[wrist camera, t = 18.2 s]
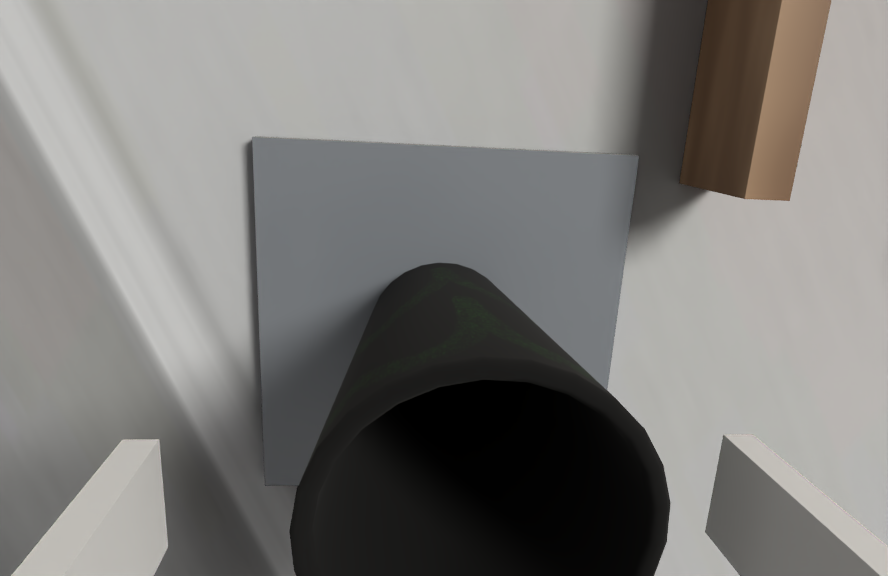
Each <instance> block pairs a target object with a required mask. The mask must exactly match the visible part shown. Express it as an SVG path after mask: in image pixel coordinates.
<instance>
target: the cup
mask: <svg viewBox="0 0 888 576" xmlns="http://www.w3.org/2000/svg"><path fill="white" fill-rule="evenodd" d="M669 512H670V499H669V493H668V488H667V483H666V477H665V472H664V466H663V464H662V462H661V460H660V458H659V456H658V454H657V452H656V450H655V448H654V446H653V444H652V442H651V440H650V438H649V436H648V434H647V432H646V430H645V429H644V428H643V427H642V426H641V425H640V424H639V423H638V422H637V421H636V419H635V418H634V417H633V416H632V415H631V414H630V413H629V412H628V411H627V410H626V409H625V408H624V407H623V406H622V405H621V404H620V402H619V401H618V400H617V399H616V398H615V397H614V396H612V395H611V394H610V393H609V392H608V391H607V390H606V389H605V388H604V387H603V386H602V385H601V384H600V383H599V382H598V381H596V380H595V379H594V378H593V377H592V376H591V375H590V374H589V373H588V372H587V371H586V370H585V369H584V368H583V367H582V366H580V365H579V364H578V363H577V362H576V361H575V360H574V359H573V358H572V357H571V356H570V355H569V354H568V353H567V352H565V351H564V350H563V349H562V348H561V347H560V346H559V345H558V344H557V343H556V342H555V341H554V340H553V339H552V338H551V337H549V336H548V335H547V334H546V333H545V332H544V331H543V330H542V329H541V328H540V327H539V326H538V325H537V324H536V323H535V322H533V321H532V320H531V319H530V318H529V317H528V316H527V315H526V314H525V313H524V312H523V311H522V310H521V309H520V308H519V307H517V306H516V305H515V304H514V303H513V302H512V301H511V300H510V299H509V298H508V297H507V296H506V295H505V294H504V293H503V292H501V291H500V290H499V289H498V288H497V287H496V286H495V285H494V284H493V283H492V282H491V281H490V280H489V279H488V278H486V277H485V276H483V275H481V274H480V273H478V272H477V271H475V270H473V269H471V268H468V267H465V266H462V265H459V264H452V263H433V264H427V265H421V266H419V267H416V268H414V269H411V270H409V271H407V272H405V273H403V274H402V275H401V276H399V277H398V278H396V279H395V280H394V281H392V282H391V283H390V284H389V286H388V287H387V288H386V289H385V290H384V292H383V293H382V294H381V295H380V297H379V299H378V301H377V303H376V305H375V307H374V309H373V311H372V314H371V316H370V319H369V321H368V323H367V326H366V328H365V330H364V333H363V335H362V337H361V340H360V342H359V344H358V347H357V349H356V352H355V354H354V356H353V359H352V361H351V363H350V366H349V368H348V370H347V373H346V375H345V377H344V380H343V382H342V385H341V387H340V389H339V392H338V394H337V396H336V399H335V401H334V403H333V406H332V408H331V410H330V413H329V415H328V418H327V420H326V422H325V425H324V427H323V429H322V432H321V434H320V436H319V439H318V441H317V443H316V446H315V448H314V451H313V453H312V455H311V458H310V460H309V462H308V465H307V467H306V469H305V472H304V474H303V476H302V479H301V481H300V484H299V486H298V488H297V492H296V497H295V503H294V509H293V514H292V520H291V525H290V539H291V547H292V556H293V565H294V571H295V573H296V576H654V574H655V571H656V569H657V566H658V563H659V561H660V558H661V555H662V553H663V550H664V547H665V545H666V542H667V533H668V522H669Z"/></svg>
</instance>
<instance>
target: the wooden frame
mask: <svg viewBox="0 0 888 576" xmlns="http://www.w3.org/2000/svg"><path fill="white" fill-rule="evenodd" d="M830 4H831V0H708V4H707V10H706V17H705V23H704V29H703V36H702V42H701V48H700V55H699V61H698V68H697V74H696V80H695V87H694V93H693V99H692V106H691V112H690V118H689V125H688V131H687V138H686V144H685V150H684V157H683V163H682V169H681V176H680V182H679V183H680V184H684V185H688V186H692V187H697V188H701V189H705V190H709V191H714V192H718V193H722V194H726V195H731V196H735V197H739V198H743V199H760V200H784V201H790V196H791V191H792V186H793V182H794V177H795V172H796V167H797V162H798V158H799V153H800V148H801V143H802V138H803V134H804V129H805V124H806V119H807V115H808V110H809V105H810V100H811V95H812V91H813V86H814V81H815V76H816V71H817V67H818V62H819V57H820V52H821V47H822V43H823V38H824V33H825V28H826V24H827V19H828V14H829V9H830Z"/></svg>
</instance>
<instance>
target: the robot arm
mask: <svg viewBox="0 0 888 576" xmlns="http://www.w3.org/2000/svg"><path fill="white" fill-rule="evenodd" d="M705 532H706V534H707V535H708V536H709V537H710V539H711V540H712V541H713V542H714V544H715V545H716V546H717V547H718V549H719V550H720V551H721V552H722V553H723V555H724V556H725V557H726V558H727V560H728V561H729V562H730V563H731V565H732V566H733V567H734V568H735V570H736V571H737V572H738V573H739V575H740V576H888V546H887V545H886V544H885V543H884V542H882V541H881V540H880V539H879V538H877V537H876V536H875V535H874V534H873V533H871V532H870V531H869V530H868V529H867V528H865V527H864V526H863V525H862V524H861V523H859V522H858V521H857V520H856V519H855V518H853V517H852V516H851V515H850V514H848V513H847V512H846V511H845V510H844V509H842V508H841V507H840V506H839V505H838V504H836V503H835V502H834V501H833V500H832V499H830V498H829V497H828V496H827V495H826V494H824V493H823V492H822V491H821V490H819V489H818V488H817V487H816V486H815V485H813V484H812V483H811V482H810V481H809V480H807V479H806V478H805V477H804V476H803V475H801V474H800V473H799V472H798V471H797V470H795V469H794V468H793V467H792V466H790V465H789V464H788V463H787V462H786V461H784V460H783V459H782V458H781V457H780V456H778V455H777V454H776V453H775V452H774V451H772V450H771V449H770V448H769V447H768V446H766V445H765V444H764V443H763V442H761V441H760V440H759V439H758V438H757V437H755V436H754V435H753V434H741V435H723V440H722V445H721V451H720V456H719V461H718V466H717V472H716V477H715V482H714V488H713V493H712V498H711V504H710V509H709V514H708V519H707V525H706V530H705ZM167 548H168V539H167V527H166V514H165V502H164V490H163V478H162V466H161V454H160V442H159V439H137V440H122V441H121V442H120V443H119V444H118V446H117V447H116V448H115V449H114V450H113V452H112V453H111V454H110V455H109V457H108V458H107V459H106V460H105V461H104V463H103V464H102V465H101V466H100V468H99V469H98V470H97V471H96V472H95V474H94V475H93V476H92V477H91V479H90V480H89V481H88V482H87V483H86V485H85V486H84V487H83V488H82V490H81V491H80V492H79V493H78V494H77V496H76V497H75V498H74V499H73V501H72V502H71V503H70V504H69V505H68V507H67V508H66V509H65V510H64V512H63V513H62V514H61V515H60V516H59V518H58V519H57V520H56V521H55V523H54V524H53V525H52V526H51V527H50V529H49V530H48V531H47V532H46V534H45V535H44V536H43V537H42V538H41V540H40V541H39V542H38V543H37V545H36V546H35V547H34V548H33V550H32V551H31V552H30V553H29V554H28V556H27V557H26V558H25V559H24V561H23V562H22V563H21V564H20V565H19V567H18V568H17V569H16V570H15V572H14V573H13V574H12V575H11V576H154V574H155V572H156V570H157V568H158V566H159V564H160V562H161V560H162V558H163V556H164V554H165V552H166V550H167Z"/></svg>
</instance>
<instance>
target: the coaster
mask: <svg viewBox="0 0 888 576" xmlns="http://www.w3.org/2000/svg"><path fill="white" fill-rule="evenodd" d="M252 148H253V175H254V203H255V230H256V258H257V285H258V312H259V340H260V367H261V395H262V422H263V449H264V477H265V486H299V484H300V481H301V479H302V476H303V474H304V472H305V469H306V467H307V465H308V462H309V460H310V458H311V455H312V453H313V451H314V448H315V446H316V443H317V441H318V439H319V436H320V434H321V432H322V429H323V427H324V425H325V422H326V420H327V418H328V415H329V413H330V410H331V408H332V406H333V403H334V401H335V399H336V396H337V394H338V392H339V389H340V387H341V385H342V382H343V380H344V377H345V375H346V373H347V370H348V368H349V366H350V363H351V361H352V359H353V356H354V354H355V352H356V349H357V347H358V344H359V342H360V340H361V337H362V335H363V333H364V330H365V328H366V326H367V323H368V321H369V319H370V316H371V314H372V311H373V309H374V307H375V305H376V303H377V301H378V299H379V297H380V295H381V294H382V293H383V292H384V290H385V289H386V288H387V287H388V286H389V284H390V283H391V282H392V281H394V280H395V279H396V278H398V277H399V276H401V275H402V274H403V273H405V272H407V271H409V270H411V269H414V268H416V267H419V266H421V265H427V264H433V263H452V264H459V265H462V266H465V267H468V268H471V269H473V270H475V271H477V272H478V273H480V274H481V275H483V276H485V277H486V278H488V279H489V280H490V281H491V282H492V283H493V284H494V285H495V286H496V287H497V288H498V289H499V290H500V291H501V292H503V293H504V294H505V295H506V296H507V297H508V298H509V299H510V300H511V301H512V302H513V303H514V304H515V305H516V306H517V307H519V308H520V309H521V310H522V311H523V312H524V313H525V314H526V315H527V316H528V317H529V318H530V319H531V320H532V321H533V322H535V323H536V324H537V325H538V326H539V327H540V328H541V329H542V330H543V331H544V332H545V333H546V334H547V335H548V336H549V337H551V338H552V339H553V340H554V341H555V342H556V343H557V344H558V345H559V346H560V347H561V348H562V349H563V350H564V351H565V352H567V353H568V354H569V355H570V356H571V357H572V358H573V359H574V360H575V361H576V362H577V363H578V364H579V365H580V366H582V367H583V368H584V369H585V370H586V371H587V372H588V373H589V374H590V375H591V376H592V377H593V378H594V379H595V380H596V381H598V382H599V383H600V384H601V385H602V386H603V387H604V388H605V389H606V390H607V387H608V380H609V372H610V365H611V358H612V350H613V343H614V336H615V329H616V321H617V314H618V307H619V299H620V292H621V285H622V278H623V270H624V263H625V256H626V248H627V241H628V234H629V226H630V219H631V212H632V205H633V197H634V190H635V183H636V175H637V168H638V161H639V156H638V155H630V154H609V153H589V152H568V151H547V150H527V149H506V148H485V147H465V146H444V145H424V144H403V143H382V142H362V141H341V140H320V139H300V138H279V137H258V136H255V137H252Z"/></svg>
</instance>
